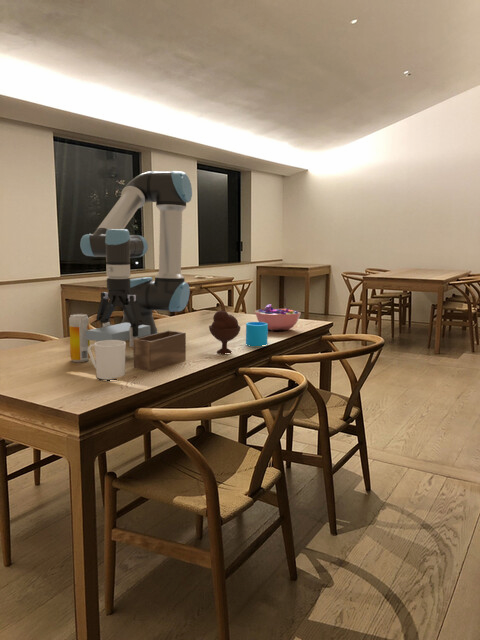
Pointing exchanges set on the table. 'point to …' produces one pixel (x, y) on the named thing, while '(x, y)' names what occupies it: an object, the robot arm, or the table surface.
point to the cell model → (277, 318)
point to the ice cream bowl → (224, 329)
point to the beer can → (79, 337)
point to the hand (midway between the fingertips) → (119, 344)
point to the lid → (116, 332)
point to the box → (159, 350)
